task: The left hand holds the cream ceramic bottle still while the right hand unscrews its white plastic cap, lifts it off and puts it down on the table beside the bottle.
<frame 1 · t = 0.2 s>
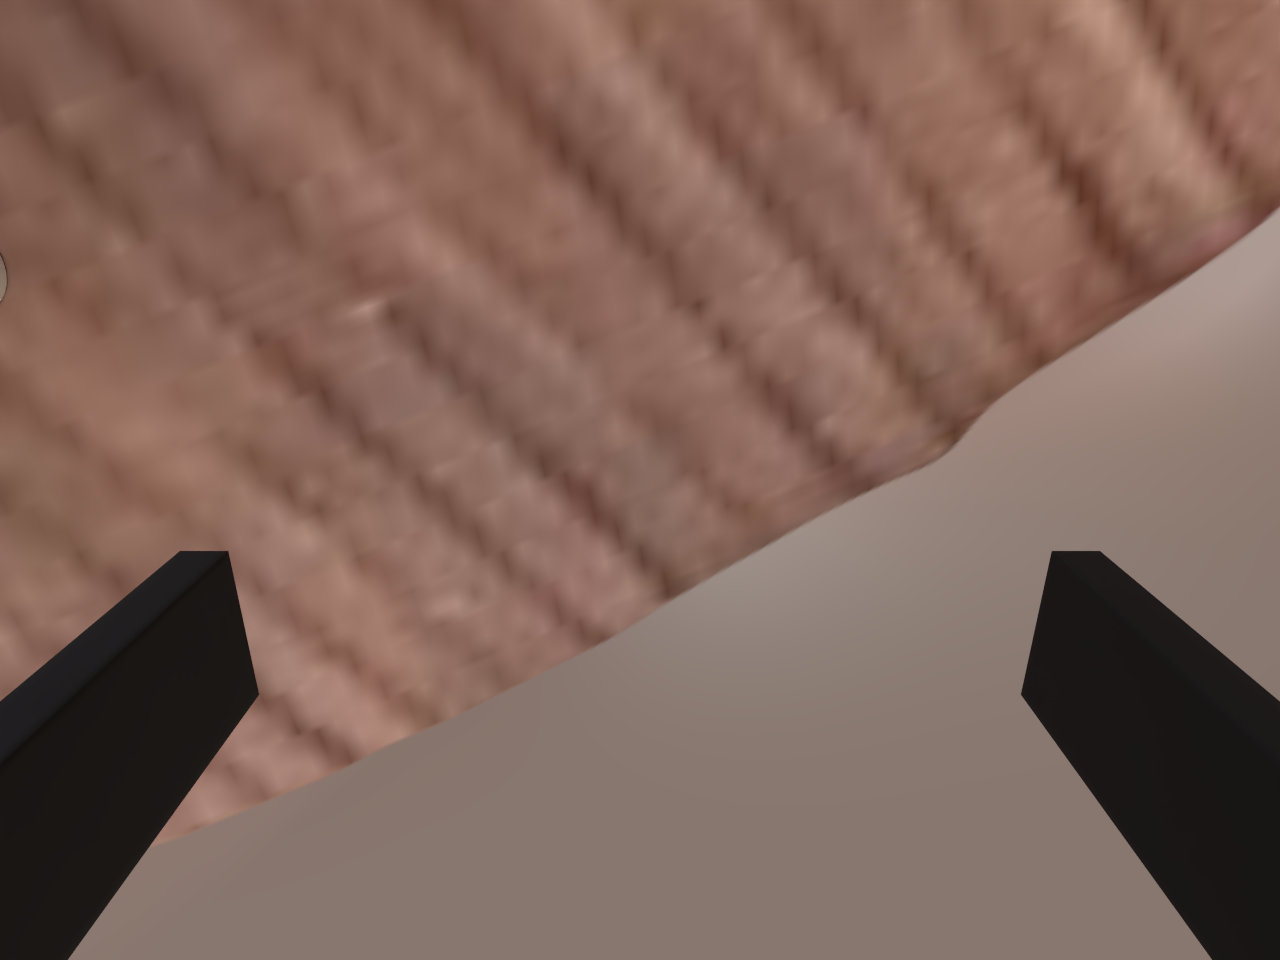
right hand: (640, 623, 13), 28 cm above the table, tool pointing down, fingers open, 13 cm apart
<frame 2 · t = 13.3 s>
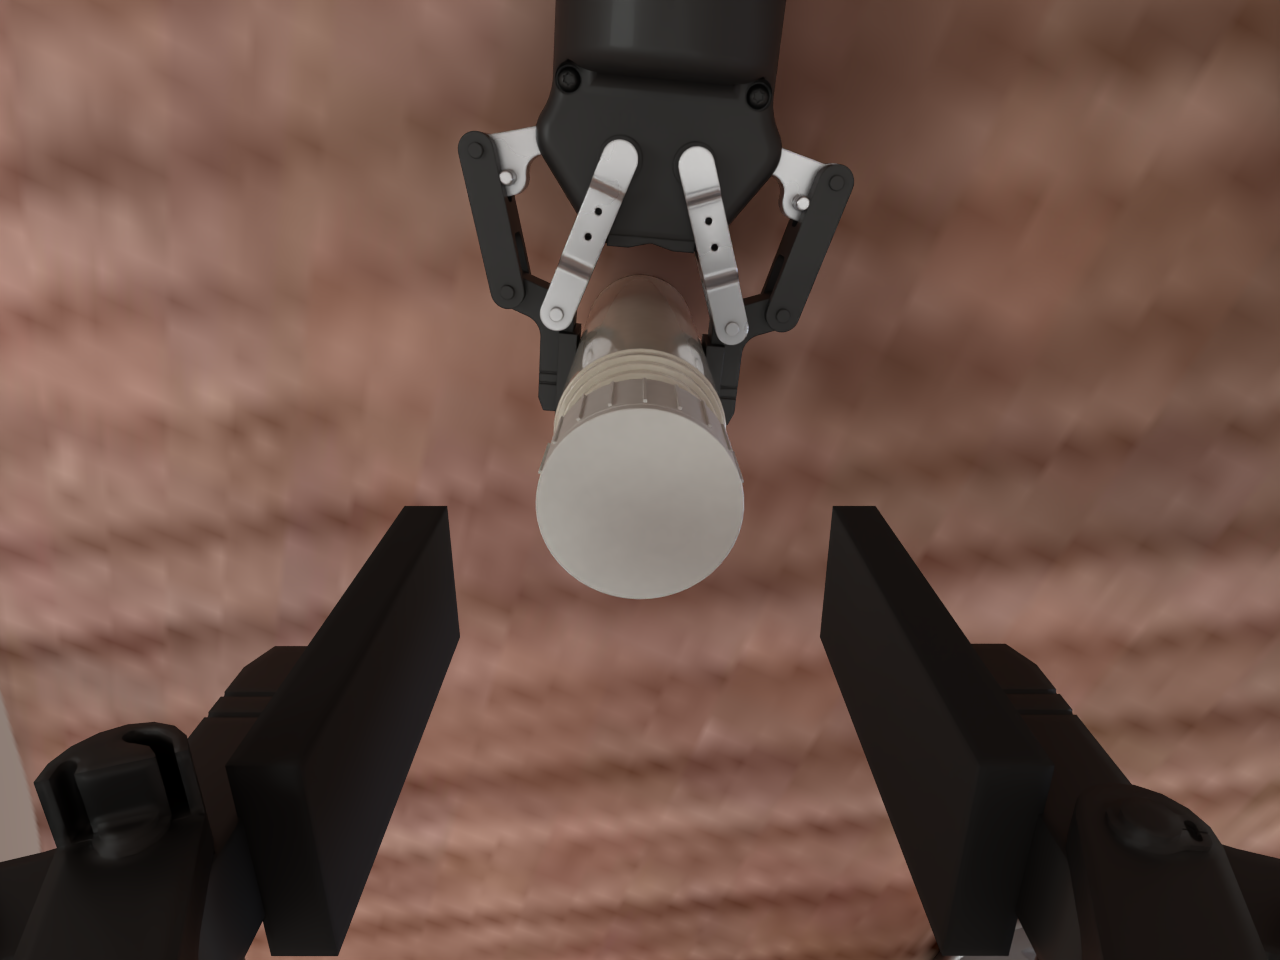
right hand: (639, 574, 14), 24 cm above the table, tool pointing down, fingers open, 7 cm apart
left hand: (635, 424, 31), fingers closed on bottle, 5 cm apart
bottle: (640, 328, 36), on the table, touching left hand
cap: (639, 503, 18), point 20 cm above the table, screwed on, not yet turned
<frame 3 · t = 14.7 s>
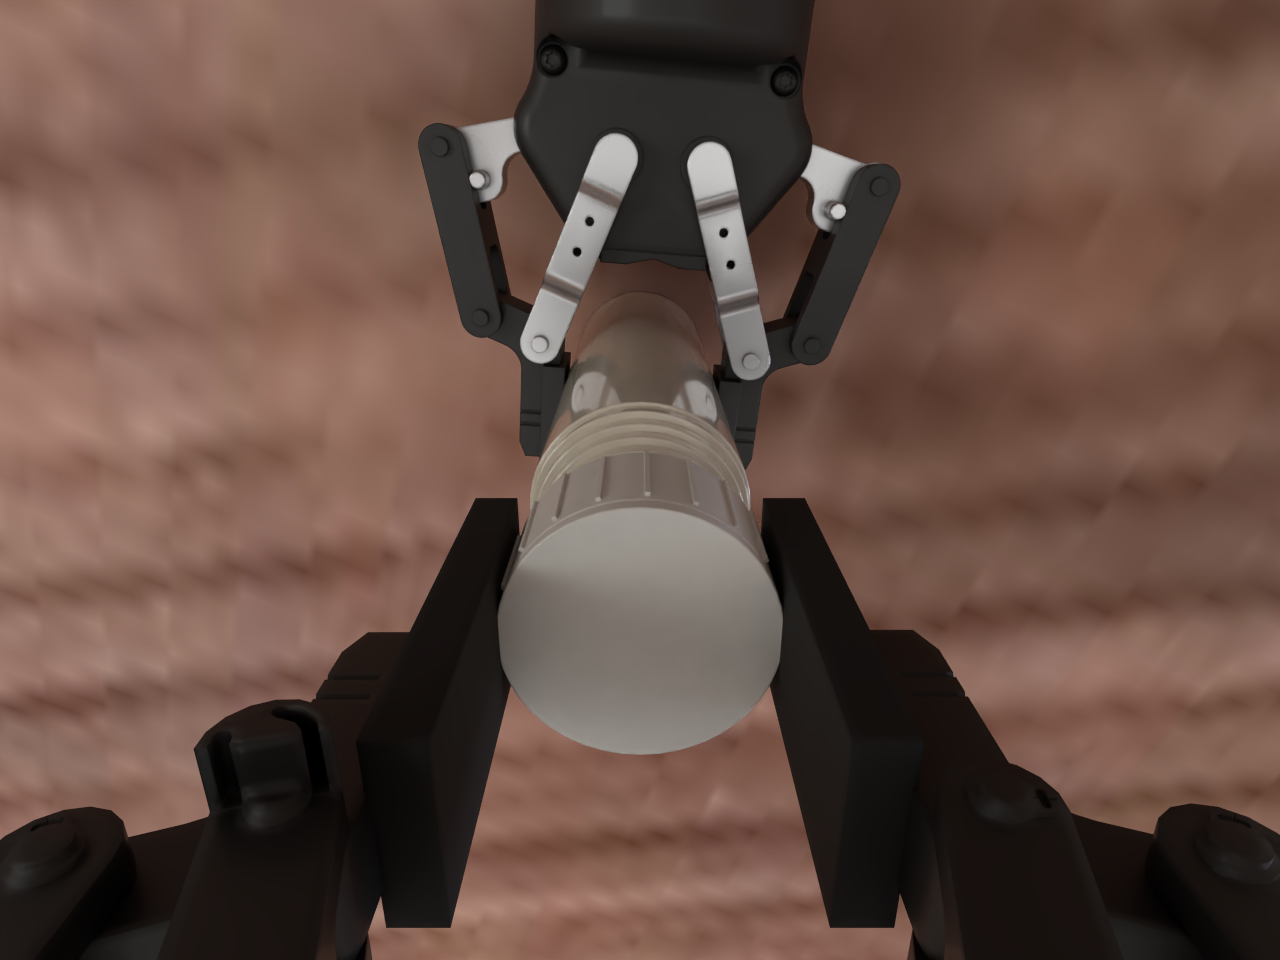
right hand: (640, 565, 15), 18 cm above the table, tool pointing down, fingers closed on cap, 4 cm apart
left hand: (634, 471, 27), fingers closed on bottle, 5 cm apart
bottle: (640, 353, 32), on the table, touching left hand
cap: (640, 629, 13), point 20 cm above the table, screwed on, not yet turned, touching right hand
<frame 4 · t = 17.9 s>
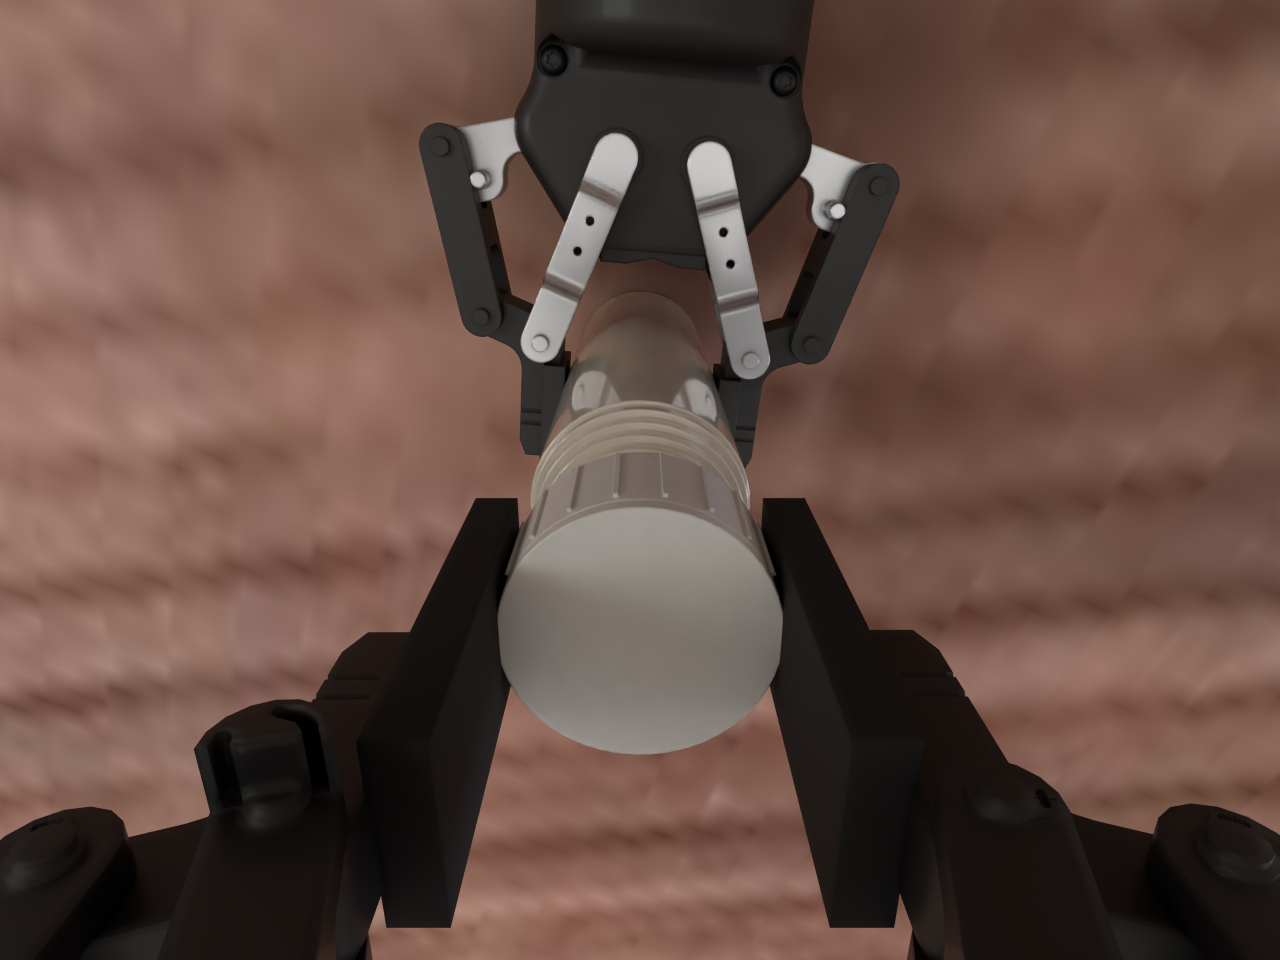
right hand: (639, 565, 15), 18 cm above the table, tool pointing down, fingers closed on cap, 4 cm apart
left hand: (634, 469, 27), fingers closed on bottle, 5 cm apart
bottle: (640, 352, 32), on the table, touching left hand
cap: (640, 629, 13), point 20 cm above the table, turned 88° so far, risen 0.1 cm, still on its thread, touching right hand
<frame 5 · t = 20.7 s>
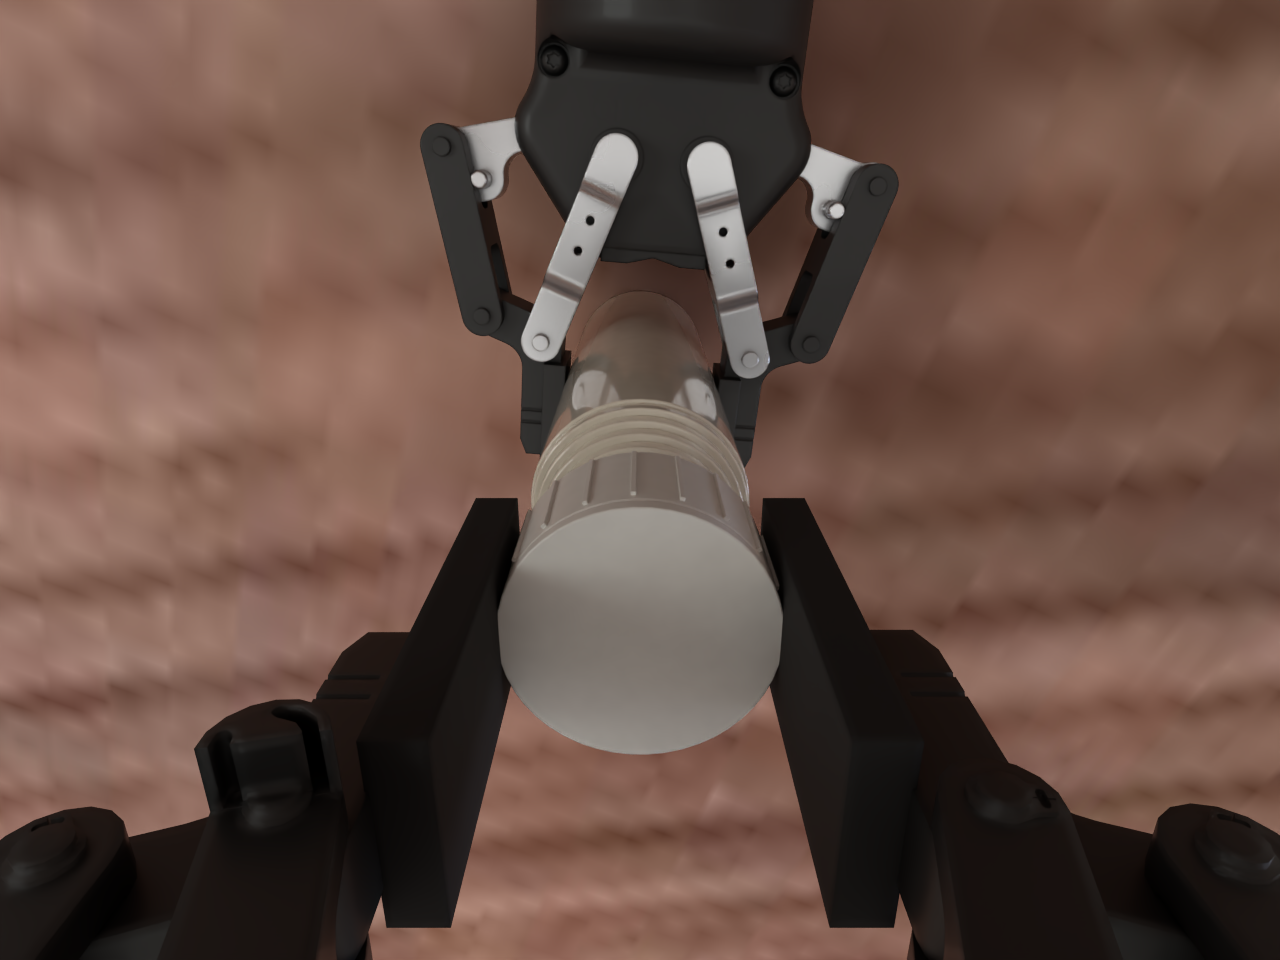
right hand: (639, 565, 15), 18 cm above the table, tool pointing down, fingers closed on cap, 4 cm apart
left hand: (634, 468, 27), fingers closed on bottle, 5 cm apart
bottle: (640, 351, 32), on the table, touching left hand
cap: (640, 629, 13), point 20 cm above the table, turned 176° so far, risen 0.2 cm, still on its thread, touching right hand
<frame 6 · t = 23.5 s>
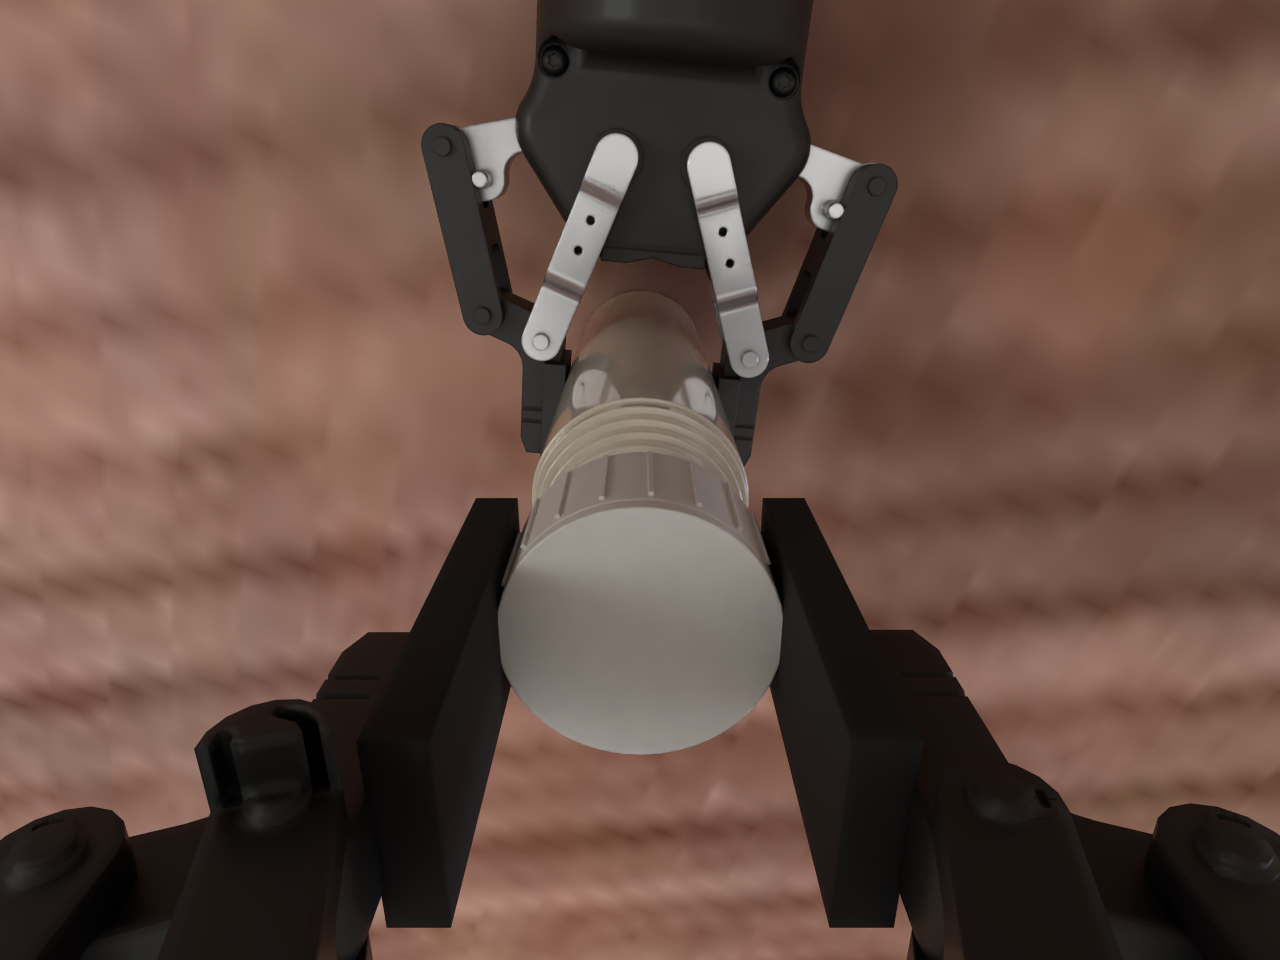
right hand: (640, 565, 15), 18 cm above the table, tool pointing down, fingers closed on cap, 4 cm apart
left hand: (634, 467, 27), fingers closed on bottle, 5 cm apart
bottle: (640, 351, 32), on the table, touching left hand
cap: (640, 629, 13), point 21 cm above the table, turned 264° so far, risen 0.3 cm, still on its thread, touching right hand
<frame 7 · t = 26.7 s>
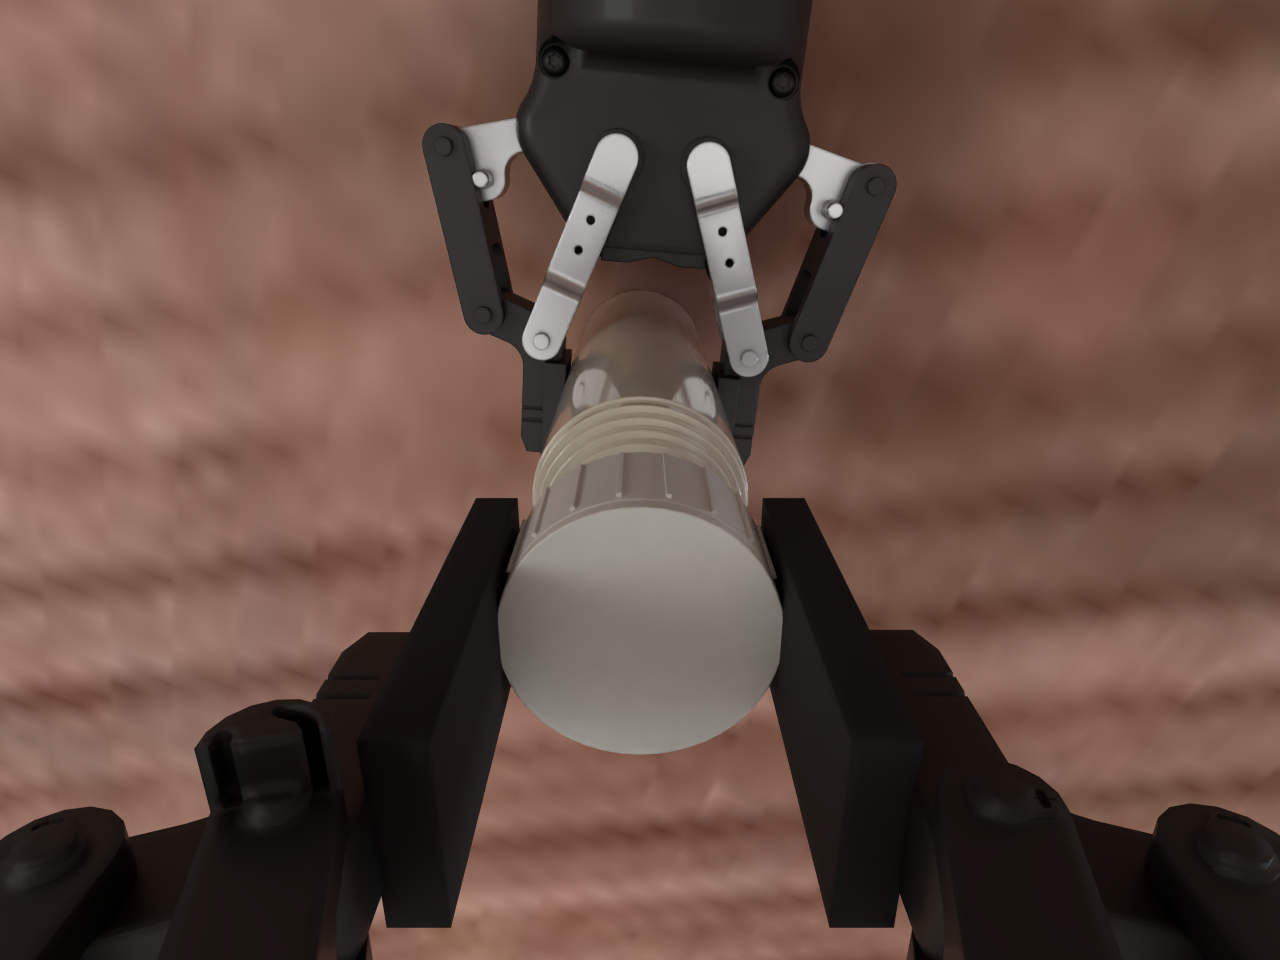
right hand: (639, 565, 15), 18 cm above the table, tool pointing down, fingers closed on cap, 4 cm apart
left hand: (634, 466, 27), fingers closed on bottle, 5 cm apart
bottle: (640, 350, 32), on the table, touching left hand
cap: (640, 629, 13), point 21 cm above the table, turned 352° so far, risen 0.4 cm, still on its thread, touching right hand
when the right hand's fingers open (1 cm above the table, at t = 35.8 s): cap drops 1 cm, point 2 cm above the table.
when the left hand's fingers open (6 cm above the table, at t = 37.0 s): bottle stays where it is, on the table.
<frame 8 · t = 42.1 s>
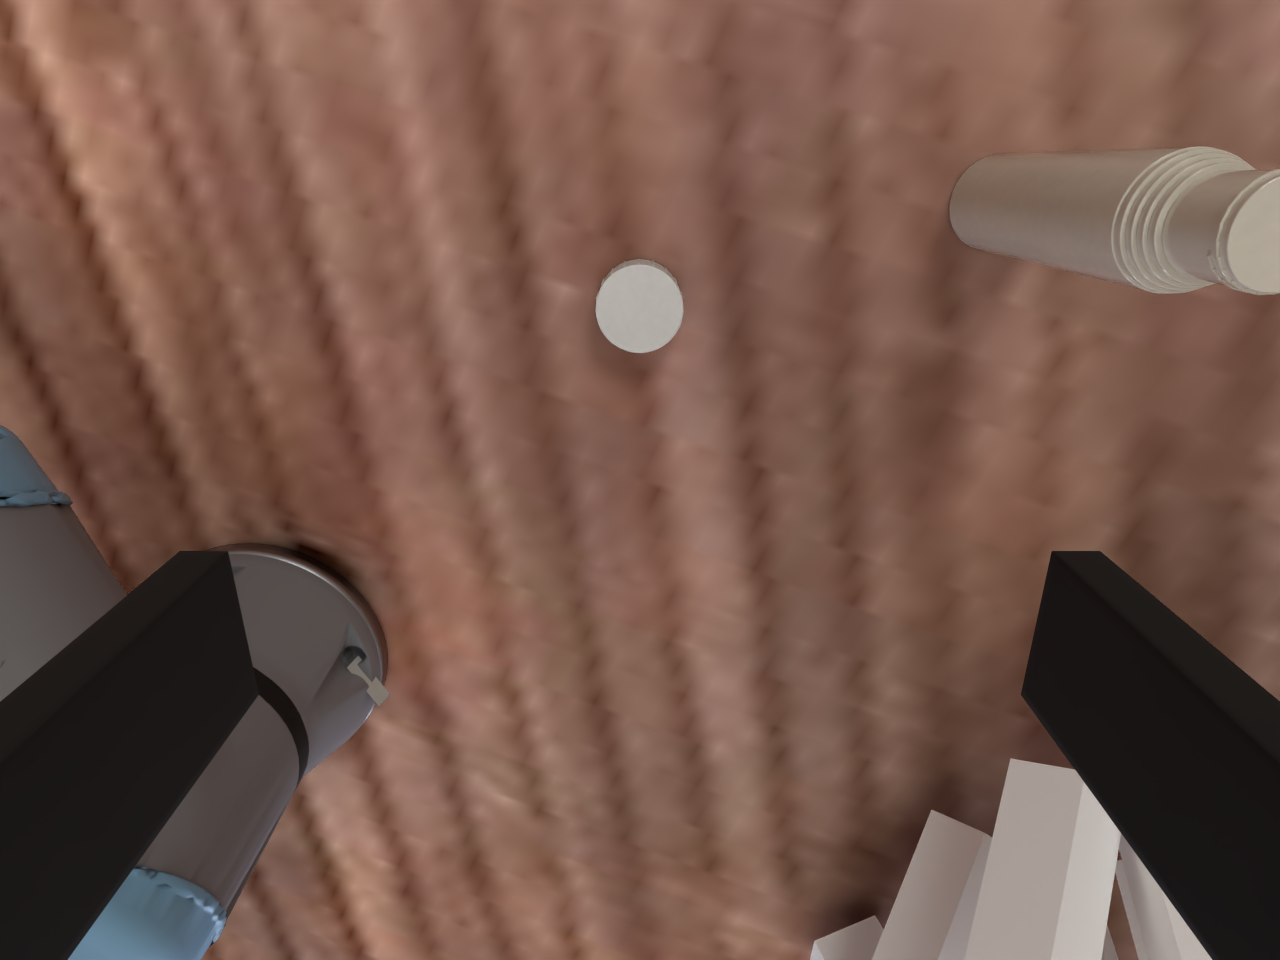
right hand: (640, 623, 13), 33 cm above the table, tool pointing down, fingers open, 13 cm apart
bottle: (995, 203, 41), on the table
cap: (639, 308, 41), point 2 cm above the table, off its thread
pile of blocks: (983, 857, 58), on the table
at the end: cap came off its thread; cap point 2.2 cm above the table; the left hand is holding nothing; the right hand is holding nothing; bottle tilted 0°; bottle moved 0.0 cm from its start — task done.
